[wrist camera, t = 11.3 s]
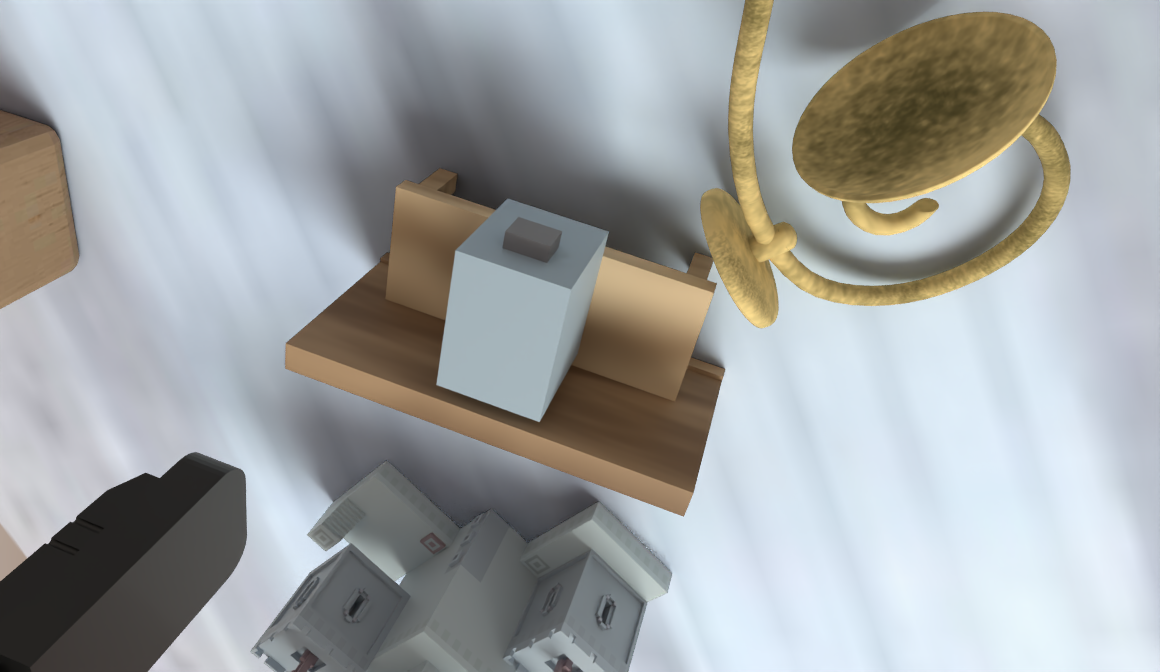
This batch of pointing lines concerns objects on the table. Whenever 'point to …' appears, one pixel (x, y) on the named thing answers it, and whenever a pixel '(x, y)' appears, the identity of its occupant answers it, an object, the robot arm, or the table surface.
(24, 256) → the block
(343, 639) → the castle model
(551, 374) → the grey rectangular box
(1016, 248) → the wall sconce
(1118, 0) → the table surface
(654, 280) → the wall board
